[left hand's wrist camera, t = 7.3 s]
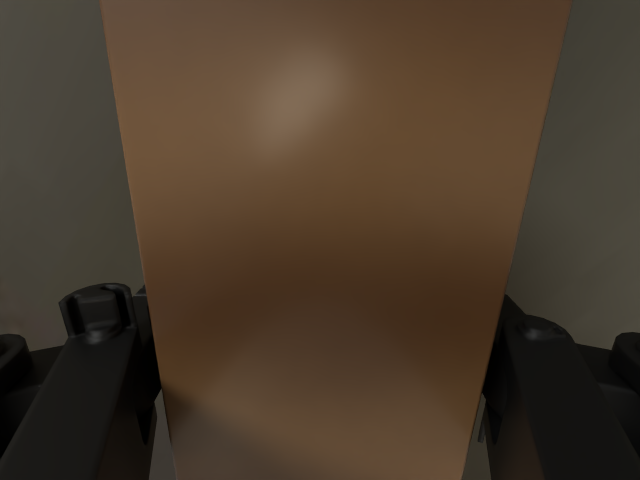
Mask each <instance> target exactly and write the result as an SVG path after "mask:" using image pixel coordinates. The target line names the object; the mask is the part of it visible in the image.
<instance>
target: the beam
mask: <svg viewBox="0 0 640 480" xmlns="http://www.w3.org/2000/svg"><path fill="white" fill-rule="evenodd" d="M99 2H100V8H101V15H102V21H103V27H104V33H105V39H106V46H107V52H108V58H109V64H110V70H111V77H112V83H113V89H114V95H115V101H116V108H117V114H118V120H119V126H120V132H121V139H122V145H123V151H124V157H125V164H126V170H127V176H128V182H129V188H130V195H131V201H132V207H133V213H134V219H135V226H136V232H137V238H138V244H139V250H140V257H141V263H142V269H143V275H144V281H145V288H146V294H147V300H148V306H149V312H150V319H151V325H152V331H153V337H154V343H155V350H156V356H157V362H158V368H159V375H160V381H161V387H162V393H163V399H164V406H165V412H166V418H167V424H168V430H169V437H170V443H171V449H172V455H173V461H174V468H175V474H176V480H462V476H463V472H464V467H465V463H466V459H467V455H468V450H469V446H470V442H471V437H472V433H473V429H474V424H475V420H476V416H477V411H478V407H479V403H480V399H481V394H482V390H483V386H484V381H485V377H486V373H487V368H488V364H489V360H490V355H491V351H492V347H493V343H494V338H495V334H496V330H497V325H498V321H499V317H500V312H501V308H502V304H503V299H504V295H505V291H506V287H507V282H508V278H509V274H510V269H511V265H512V261H513V256H514V252H515V248H516V243H517V239H518V235H519V231H520V226H521V222H522V218H523V213H524V209H525V205H526V200H527V196H528V192H529V187H530V183H531V179H532V175H533V170H534V166H535V162H536V157H537V153H538V149H539V144H540V140H541V136H542V131H543V127H544V123H545V119H546V114H547V110H548V106H549V101H550V97H551V93H552V88H553V84H554V80H555V75H556V71H557V67H558V63H559V58H560V54H561V50H562V45H563V41H564V37H565V32H566V28H567V24H568V19H569V15H570V11H571V7H572V2H573V0H99Z"/></svg>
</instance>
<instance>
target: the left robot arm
mask: <svg viewBox="0 0 640 480" xmlns="http://www.w3.org/2000/svg"><path fill="white" fill-rule="evenodd" d="M59 306H60V310H61V313H62V316H63V320H64V323H65V326H66V330H67V333H68V339H67V341H66V343H65V345H63V346H58V347H53V348H47V349H42V350H36V351H31V352H29V349H28V346H27V343H26V340H25V338H23V337H22V336H20V335H16V334H3V335H0V480H149V473H150V466H151V458H152V451H153V444H154V437H155V429H156V422H157V413H156V407H155V403H154V401H155V399H156V397H157V395H158V394H159V392H160V390H161V388H162V387H161V381H160V375H159V368H158V362H157V356H156V350H155V343H154V337H153V331H152V325H151V319H150V312H149V306H148V300H147V294H146V288H145V285H144V286H143V289H140V290H139V291H138V292H137V293H136V296H133V297H132V295H131V290H130V288H129V287H128V286H126V285H125V284H119V283H103V284H97V285H92V286H88V287H85V288H82V289H79V290H76V291H75V292H73V293H71V294H69V295H67V296H65V297H64V298H63V299H62V300H61V301H60V302H59ZM482 393H483V395H484V397H485V398H486V403H485V407H484V412H483V417H482V421H481V426H480V431H479V436H478V442H481V443H483V440H484V435H485V436H486V443H487V450H488V457H489V465H490V472H491V479H492V480H640V333H636V332H629V333H621V334H620V335H618V336H617V337H616V339H615V342H614V344H613V347H612V350H608V349H602V348H597V347H591V346H586V345H581V344H576V343H575V342H574V340H573V338H572V337H571V336H570V334H569V333H568V332H567V331H566V330H565V329H564V328H562V327H560V326H559V325H557V324H556V323H554V322H551V321H549V320H546V319H544V318H541V317H537V316H532V315H526V314H525V313H524V312H523V311H522V310H521V309H520V308H519V307H518V306H517V305H516V304H515V303H514V302H513V301H512V300H511V299H510V298H509V296H508V295H504V299H503V304H502V308H501V312H500V317H499V321H498V325H497V330H496V334H495V338H494V343H493V347H492V351H491V355H490V360H489V364H488V368H487V373H486V377H485V381H484V386H483V390H482Z"/></svg>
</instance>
